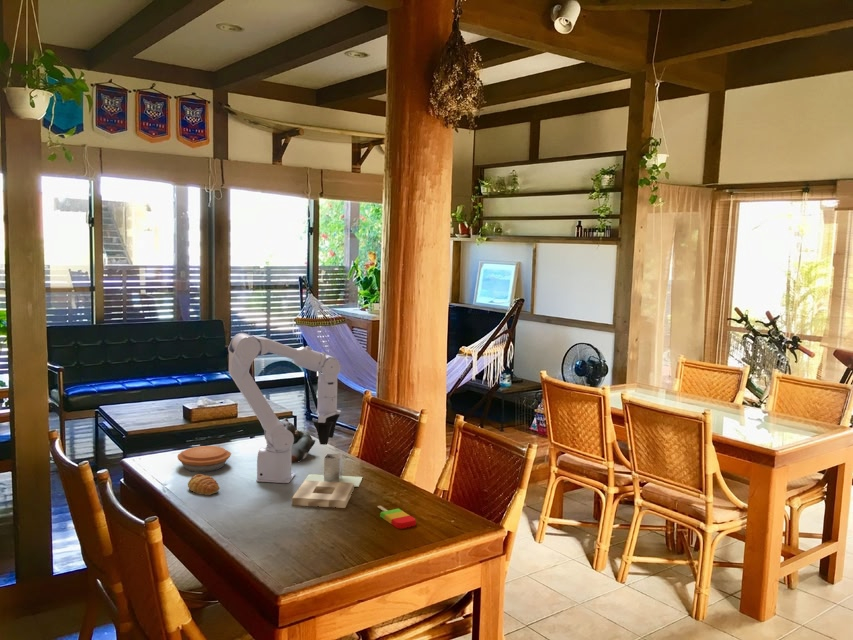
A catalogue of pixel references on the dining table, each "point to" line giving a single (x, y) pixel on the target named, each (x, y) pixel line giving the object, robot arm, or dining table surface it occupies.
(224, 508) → the dining table surface
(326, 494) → the pocket board
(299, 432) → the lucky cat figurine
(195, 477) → the pastry
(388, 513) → the popsicle
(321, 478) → the mat
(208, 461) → the pie
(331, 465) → the block
